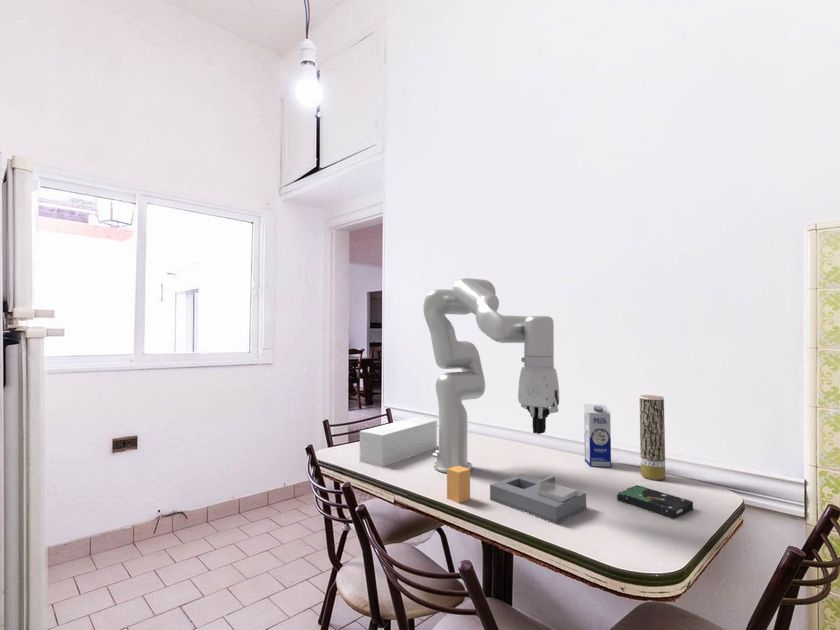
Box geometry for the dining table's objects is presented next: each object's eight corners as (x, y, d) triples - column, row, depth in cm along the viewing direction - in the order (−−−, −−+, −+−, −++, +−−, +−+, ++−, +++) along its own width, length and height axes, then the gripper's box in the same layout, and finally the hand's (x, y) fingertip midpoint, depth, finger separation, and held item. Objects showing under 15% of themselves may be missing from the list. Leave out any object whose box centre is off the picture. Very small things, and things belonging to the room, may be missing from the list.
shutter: (537, 494, 111) (537, 481, 111) (552, 487, 115) (552, 475, 116) (562, 502, 106) (562, 488, 106) (577, 495, 110) (577, 482, 110)
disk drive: (693, 512, 112) (636, 494, 124) (693, 501, 112) (636, 484, 124) (674, 522, 106) (616, 502, 118) (674, 510, 106) (616, 491, 118)
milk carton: (605, 461, 153) (604, 404, 154) (611, 467, 147) (610, 407, 147) (584, 461, 154) (583, 403, 155) (589, 466, 147) (589, 406, 148)
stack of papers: (415, 443, 179) (415, 417, 179) (436, 447, 172) (436, 420, 173) (359, 462, 153) (359, 430, 154) (382, 467, 147) (382, 435, 147)
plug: (447, 498, 119) (446, 468, 119) (458, 494, 122) (458, 465, 122) (458, 503, 115) (458, 472, 116) (470, 499, 118) (469, 469, 119)
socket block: (490, 499, 118) (490, 484, 118) (521, 487, 127) (521, 473, 127) (556, 524, 103) (555, 506, 103) (586, 508, 112) (586, 492, 112)
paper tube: (641, 472, 141) (640, 394, 142) (665, 476, 138) (664, 396, 139) (640, 478, 135) (638, 397, 136) (665, 482, 132) (663, 398, 133)
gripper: (507, 361, 119) (507, 429, 118) (556, 365, 108) (556, 440, 107) (523, 360, 124) (524, 426, 123) (572, 363, 112) (572, 435, 112)
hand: (539, 432), depth 115 cm, fingers closed
